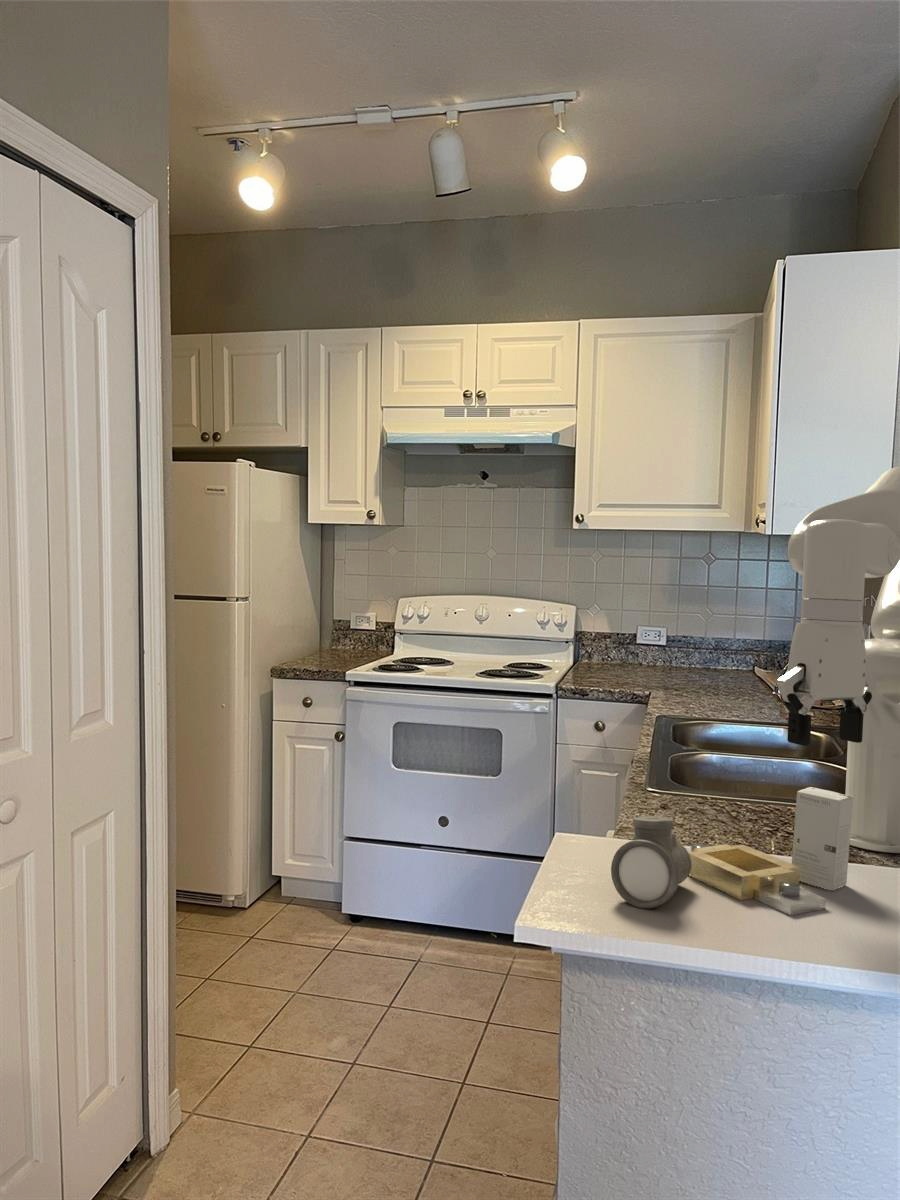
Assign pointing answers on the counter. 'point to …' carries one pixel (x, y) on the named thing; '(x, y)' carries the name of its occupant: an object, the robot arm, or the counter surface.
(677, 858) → the pipe fitting
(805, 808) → the skincare box
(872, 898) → the counter surface
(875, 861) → the counter surface
